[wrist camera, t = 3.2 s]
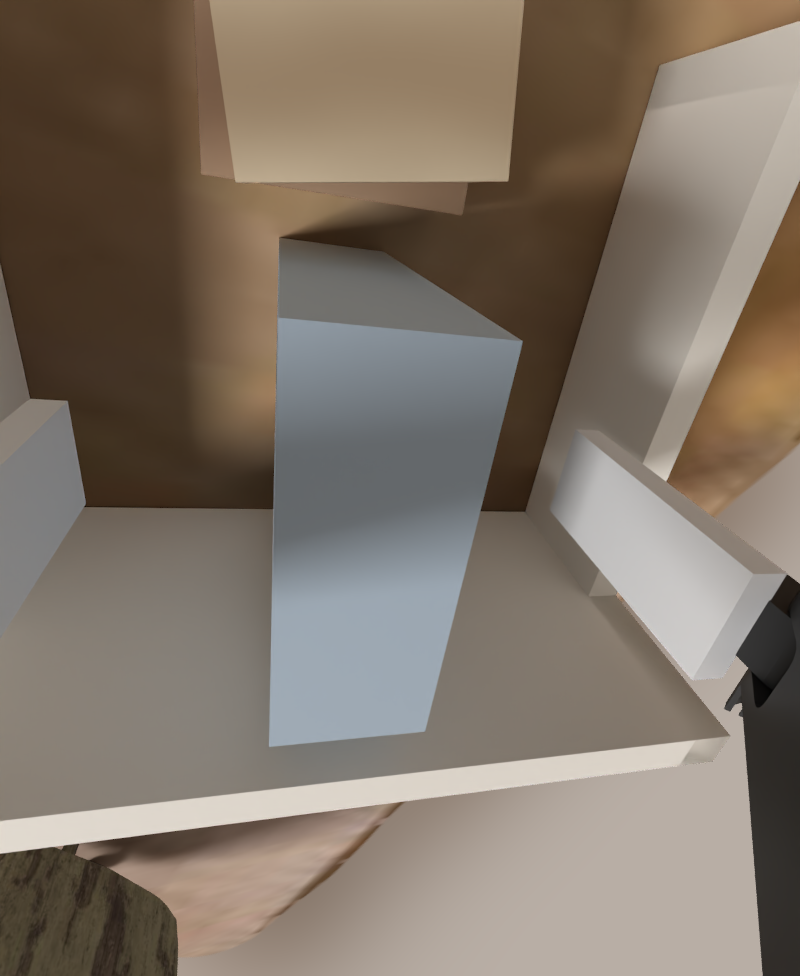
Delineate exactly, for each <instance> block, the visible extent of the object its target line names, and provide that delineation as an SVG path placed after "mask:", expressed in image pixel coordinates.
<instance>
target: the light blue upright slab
mask: <svg viewBox="0 0 800 976" xmlns="http://www.w3.org/2000/svg"><path fill="white" fill-rule="evenodd" d="M522 343H523V341H522V340H520V339H519V338H517V337H516V336H514V335H512V334H511V333H509V332H508V331H506V330H505V329H503V328H502V327H500V326H498V325H497V324H495V323H494V322H492V321H491V320H489V319H488V318H486V317H484V316H483V315H481V314H480V313H478V312H477V311H475V310H474V309H472V308H470V307H469V306H467V305H466V304H464V303H463V302H461V301H460V300H458V299H456V298H455V297H453V296H452V295H450V294H449V293H447V292H446V291H444V290H442V289H441V288H439V287H438V286H436V285H435V284H433V283H432V282H430V281H428V280H427V279H425V278H424V277H422V276H421V275H419V274H418V273H416V272H414V271H413V270H411V269H410V268H408V267H407V266H405V265H404V264H402V263H400V262H399V261H397V260H396V259H394V258H393V257H391V256H390V255H388V254H386V253H385V252H383V251H375V250H368V249H360V248H353V247H345V246H338V245H330V244H323V243H315V242H308V241H300V240H293V239H285V238H279V267H278V314H277V362H276V409H275V456H274V507H273V561H272V614H271V668H270V721H269V747H273V746H284V745H294V744H304V743H314V742H324V741H335V740H345V739H355V738H365V737H375V736H386V735H396V734H406V733H416V732H425V730H426V726H427V722H428V718H429V714H430V710H431V706H432V702H433V698H434V694H435V690H436V686H437V682H438V678H439V674H440V670H441V666H442V662H443V658H444V654H445V650H446V646H447V642H448V638H449V634H450V630H451V626H452V622H453V618H454V614H455V610H456V606H457V602H458V598H459V594H460V590H461V586H462V582H463V578H464V574H465V570H466V566H467V562H468V558H469V554H470V550H471V546H472V543H473V539H474V535H475V531H476V527H477V523H478V519H479V515H480V511H481V507H482V503H483V499H484V495H485V491H486V487H487V483H488V479H489V475H490V471H491V467H492V463H493V459H494V455H495V451H496V447H497V443H498V439H499V435H500V431H501V427H502V423H503V419H504V415H505V411H506V407H507V403H508V399H509V395H510V391H511V387H512V383H513V379H514V375H515V371H516V367H517V363H518V359H519V355H520V351H521V347H522Z"/></svg>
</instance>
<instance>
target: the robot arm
mask: <svg viewBox="0 0 800 976" xmlns="http://www.w3.org/2000/svg"><path fill="white" fill-rule="evenodd" d="M85 504H86V500H85V495H84V489H83V484H82V478H81V472H80V467H79V461H78V456H77V450H76V445H75V439H74V434H73V428H72V423H71V417H70V412H69V406H68V401H61V400H43V399H29V400H28V401H26V402H25V403H24V404H23V405H21V406H20V407H19V408H18V409H16V410H15V411H14V412H13V413H12V414H10V415H9V416H8V417H7V418H5V419H4V420H3V421H2V422H0V638H1V637H2V635H3V634H4V632H5V630H6V629H7V627H8V626H9V624H10V623H11V621H12V619H13V618H14V616H15V615H16V613H17V612H18V610H19V608H20V607H21V605H22V604H23V602H24V601H25V599H26V597H27V596H28V594H29V593H30V591H31V590H32V588H33V586H34V585H35V583H36V582H37V580H38V578H39V577H40V575H41V574H42V572H43V571H44V569H45V567H46V566H47V564H48V563H49V561H50V560H51V558H52V556H53V555H54V553H55V552H56V550H57V549H58V547H59V545H60V544H61V542H62V541H63V539H64V537H65V536H66V534H67V533H68V531H69V530H70V528H71V526H72V525H73V523H74V522H75V520H76V519H77V517H78V515H79V514H80V512H81V511H82V509H83V508H84V506H85ZM550 511H551V512H552V514H553V515H554V516H555V517H556V518H557V520H558V521H559V522H560V523H561V524H562V526H563V527H564V528H565V529H566V530H567V531H568V533H569V534H570V535H571V536H572V537H573V539H574V540H575V541H576V542H577V543H578V545H579V546H580V547H581V548H582V549H583V551H584V552H585V553H586V554H587V555H588V557H589V558H590V559H591V560H592V561H593V563H594V564H595V565H596V566H597V567H598V569H599V570H600V571H601V572H602V573H603V575H604V576H605V577H606V578H607V579H608V581H609V582H610V583H611V584H612V585H613V586H614V588H615V589H616V590H617V591H618V592H619V594H620V595H621V596H622V597H623V598H624V600H625V601H626V602H627V603H628V604H629V606H630V607H631V608H632V609H633V610H634V612H635V613H636V614H637V615H638V616H639V618H640V619H641V620H642V621H643V622H644V624H645V625H646V626H647V627H648V628H649V630H650V631H651V632H652V633H653V634H654V635H655V637H656V638H657V639H658V640H659V641H660V643H661V644H662V645H663V646H664V647H665V649H666V650H667V651H668V652H669V653H670V655H671V656H672V657H673V658H674V659H675V661H676V662H677V663H678V664H679V665H680V666H681V668H682V669H683V670H684V671H685V673H686V674H687V675H688V676H689V677H690V678H691V680H702V679H715V678H723V676H724V675H725V673H726V672H727V670H728V668H729V667H730V665H731V664H732V662H733V660H734V659H735V657H736V656H737V657H738V658H739V659H740V660H741V661H742V662H743V663H744V664H745V665H746V666H747V667H748V670H747V671H746V673H745V674H744V676H743V677H742V679H741V681H740V682H739V683H738V685H737V687H736V688H735V690H734V691H733V693H732V694H731V696H730V697H729V699H728V701H727V702H726V705H725V709H726V710H728V711H731V709H732V708H733V706H734V705H735V704H738V703H742V710H741V712H740V713H739V716H741V717H743V721H744V735H745V748H746V761H747V775H748V787H749V801H750V812H751V813H750V814H751V827H752V840H753V853H754V866H755V880H756V893H757V906H758V918H759V931H760V945H761V958H762V971H763V976H800V584H799V583H798V582H797V581H795V580H794V579H793V578H791V577H790V576H789V575H787V573H786V572H785V571H783V570H782V569H781V568H779V567H778V566H777V565H775V564H774V563H773V562H772V561H770V560H769V559H768V558H766V557H765V556H763V555H762V554H761V553H760V552H758V551H757V550H756V549H754V548H753V547H752V546H750V545H749V544H748V543H746V542H745V541H744V540H742V539H741V538H740V537H738V536H737V535H736V534H735V533H733V532H732V531H731V530H729V529H728V528H727V527H725V526H724V525H723V524H721V523H720V522H719V521H717V520H716V519H715V518H713V517H712V516H711V515H709V514H708V513H707V512H706V511H704V510H703V509H702V508H700V507H699V506H698V505H696V504H695V503H694V502H692V501H691V500H690V499H688V498H687V497H686V496H684V495H683V494H682V493H680V492H679V491H678V490H676V489H675V488H674V487H672V486H671V485H670V484H669V483H667V482H666V481H665V480H663V479H662V478H661V477H659V476H658V475H657V474H655V473H654V472H653V471H651V470H650V469H649V468H647V467H646V466H645V465H643V464H642V463H641V462H639V461H638V460H637V459H635V458H634V457H633V456H632V455H630V454H629V453H628V452H626V451H625V450H624V449H622V448H621V447H620V446H618V445H617V444H616V443H614V442H613V441H612V440H610V439H609V438H608V437H606V436H605V435H604V434H602V433H601V432H600V431H595V430H577V429H575V433H574V436H573V439H572V442H571V445H570V448H569V451H568V454H567V458H566V461H565V464H564V467H563V470H562V473H561V476H560V479H559V483H558V486H557V489H556V492H555V495H554V498H553V501H552V504H551V507H550Z"/></svg>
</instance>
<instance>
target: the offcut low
mask: <svg viewBox="0 0 800 976" xmlns="http://www.w3.org/2000/svg"><path fill="white" fill-rule="evenodd" d="M194 19H195V43H196V66H197V90H198V113H199V137H200V160H201V174H202V175H209V176H215V177H222V178H228V179H234V180H235V175H234V169H233V162H232V155H231V148H230V141H229V134H228V127H227V120H226V113H225V106H224V99H223V92H222V85H221V78H220V71H219V64H218V57H217V50H216V43H215V36H214V29H213V22H212V15H211V9H210V2H209V0H194ZM260 184H266V185H272V186H279V187H285V188H292V189H298V190H304V191H311V192H317V193H323V194H330V195H336V196H342V197H349V198H355V199H361V200H368V201H374V202H381V203H387V204H393V205H400V206H406V207H412V208H419V209H425V210H431V211H438V212H444V213H451V214H457V215H463V210H464V204H465V198H466V193H467V187H468V182H400V183H260Z"/></svg>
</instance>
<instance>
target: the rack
mask: <svg viewBox="0 0 800 976" xmlns="http://www.w3.org/2000/svg"><path fill="white" fill-rule="evenodd" d="M799 181H800V21H798V22H795V23H792V24H789V25H785V26H782V27H779V28H776V29H773V30H770V31H766V32H763V33H760V34H757V35H754V36H751V37H747V38H744V39H741V40H738V41H735V42H731V43H728V44H725V45H722V46H719V47H716V48H712V49H709V50H706V51H703V52H700V53H697V54H693V55H690V56H687V57H684V58H681V59H678V60H674V61H671V62H668V63H665V64H662V65H659V69H658V72H657V75H656V79H655V82H654V85H653V89H652V92H651V95H650V99H649V102H648V105H647V109H646V112H645V115H644V119H643V122H642V125H641V129H640V132H639V135H638V139H637V142H636V145H635V149H634V152H633V155H632V158H631V162H630V165H629V168H628V172H627V175H626V178H625V182H624V185H623V188H622V192H621V195H620V198H619V202H618V205H617V208H616V212H615V215H614V218H613V222H612V225H611V228H610V232H609V235H608V238H607V242H606V245H605V248H604V252H603V255H602V258H601V261H600V265H599V268H598V271H597V275H596V278H595V281H594V285H593V288H592V291H591V295H590V298H589V301H588V305H587V308H586V311H585V315H584V318H583V321H582V325H581V328H580V331H579V335H578V338H577V341H576V345H575V348H574V351H573V354H572V358H571V361H570V364H569V368H568V371H567V374H566V378H565V381H564V384H563V388H562V391H561V394H560V398H559V401H558V404H557V408H556V411H555V414H554V418H553V421H552V424H551V428H550V431H549V434H548V438H547V441H546V444H545V448H544V451H543V454H542V457H541V461H540V464H539V467H538V471H537V474H536V477H535V481H534V484H533V487H532V491H531V494H530V497H529V501H528V504H527V507H526V511H525V512H495V511H480V515H479V519H478V523H477V527H476V531H475V535H474V539H473V543H472V546H471V550H470V554H469V558H468V562H467V566H466V570H465V574H464V578H463V582H462V586H461V590H460V594H459V598H458V602H457V606H456V610H455V614H454V618H453V622H452V626H451V630H450V634H449V638H448V642H447V646H446V650H445V654H444V658H443V662H442V666H441V670H440V674H439V678H438V682H437V686H436V690H435V694H434V698H433V702H432V706H431V710H430V714H429V718H428V722H427V726H426V730H425V732H416V733H406V734H396V735H386V736H375V737H365V738H355V739H345V740H335V741H324V742H314V743H304V744H294V745H284V746H273V747H269V721H270V668H271V614H272V561H273V509H207V508H111V507H84V508H83V509H82V511H81V512H80V514H79V515H78V517H77V519H76V520H75V522H74V523H73V525H72V526H71V528H70V530H69V531H68V533H67V534H66V536H65V537H64V539H63V541H62V542H61V544H60V545H59V547H58V549H57V550H56V552H55V553H54V555H53V556H52V558H51V560H50V561H49V563H48V564H47V566H46V567H45V569H44V571H43V572H42V574H41V575H40V577H39V578H38V580H37V582H36V583H35V585H34V586H33V588H32V590H31V591H30V593H29V594H28V596H27V597H26V599H25V601H24V602H23V604H22V605H21V607H20V608H19V610H18V612H17V613H16V615H15V616H14V618H13V619H12V621H11V623H10V624H9V626H8V627H7V629H6V630H5V632H4V634H3V635H2V637H1V638H0V854H1V853H9V852H17V851H25V850H32V849H40V848H48V847H56V846H63V845H71V844H79V843H86V842H94V841H102V840H110V839H117V838H125V837H133V836H140V835H148V834H156V833H164V832H171V831H179V830H187V829H195V828H202V827H210V826H218V825H225V824H233V823H241V822H249V821H256V820H264V819H272V818H280V817H287V816H295V815H303V814H310V813H318V812H326V811H334V810H341V809H349V808H357V807H364V806H372V805H380V804H388V803H395V802H403V801H411V800H418V799H426V798H433V797H441V796H449V795H457V794H464V793H473V792H480V791H488V790H495V789H503V788H511V787H519V786H526V785H534V784H542V783H549V782H557V781H565V780H573V779H580V778H589V777H596V776H604V775H611V774H619V773H626V772H635V771H643V770H650V769H658V768H666V767H673V766H681V765H688V764H696V763H704V762H712V761H713V760H714V759H715V757H716V756H717V755H718V753H719V752H720V750H721V749H722V748H723V746H724V745H725V743H726V742H727V740H728V739H729V738H730V735H729V734H728V732H727V731H726V730H725V729H724V727H723V726H722V725H721V724H720V722H718V720H717V719H716V718H715V716H714V715H713V714H712V713H711V712H710V710H709V709H708V708H707V707H706V705H705V704H704V703H703V702H702V701H701V699H700V698H699V697H698V696H697V694H696V693H695V692H694V691H693V689H692V688H691V687H690V686H689V685H688V683H687V682H686V681H685V680H684V678H683V677H682V676H681V675H680V673H679V672H678V671H677V670H676V669H675V667H674V666H673V665H672V664H671V662H670V661H669V660H668V659H667V658H666V656H665V655H664V654H663V653H662V652H661V650H660V649H659V648H658V647H657V645H656V644H655V643H654V642H653V640H652V639H651V638H650V637H649V636H648V634H647V633H646V632H645V631H644V630H643V628H642V627H641V626H640V625H639V623H638V622H637V621H636V620H635V618H634V617H633V616H632V615H631V613H630V612H629V611H628V610H627V609H626V607H625V606H624V605H623V604H622V602H621V601H620V600H619V599H618V598H617V596H616V594H617V592H618V591H617V590H616V589H615V588H614V586H613V585H612V584H611V583H610V582H609V581H608V579H607V578H606V577H605V576H604V575H603V573H602V572H601V571H600V570H599V569H598V567H597V566H596V565H595V564H594V563H593V561H592V560H591V559H590V558H589V557H588V555H587V554H586V553H585V552H584V551H583V549H582V548H581V547H580V546H579V545H578V543H577V542H576V541H575V540H574V539H573V537H572V536H571V535H570V534H569V533H568V531H567V530H566V529H565V528H564V527H563V526H562V524H561V523H560V522H559V521H558V520H557V518H556V517H555V516H554V515H553V514H552V512H551V511H550V507H551V504H552V501H553V498H554V495H555V492H556V489H557V486H558V483H559V479H560V476H561V473H562V470H563V467H564V464H565V461H566V458H567V454H568V451H569V448H570V445H571V442H572V439H573V436H574V433H575V429H577V430H595V431H600V432H601V433H602V434H604V435H605V436H606V437H608V438H609V439H610V440H612V441H613V442H614V443H616V444H617V445H618V446H620V447H621V448H622V449H624V450H625V451H626V452H628V453H629V454H630V455H632V456H633V457H634V458H635V459H637V460H638V461H639V462H641V463H642V464H643V465H645V466H646V467H647V468H649V469H650V470H651V471H653V472H654V473H655V474H657V475H658V476H659V477H661V478H662V479H663V480H665V481H667V479H668V477H669V474H670V472H671V470H672V468H673V465H674V463H675V461H676V459H677V456H678V454H679V452H680V449H681V447H682V445H683V443H684V440H685V438H686V436H687V434H688V431H689V429H690V427H691V425H692V422H693V420H694V418H695V416H696V413H697V411H698V409H699V407H700V404H701V402H702V400H703V398H704V395H705V393H706V391H707V389H708V386H709V384H710V382H711V380H712V377H713V375H714V373H715V370H716V368H717V366H718V364H719V361H720V359H721V357H722V355H723V352H724V350H725V348H726V346H727V343H728V341H729V339H730V337H731V334H732V332H733V330H734V328H735V325H736V323H737V321H738V319H739V316H740V314H741V312H742V310H743V307H744V305H745V303H746V301H747V298H748V296H749V294H750V291H751V289H752V287H753V285H754V282H755V280H756V278H757V276H758V273H759V271H760V269H761V267H762V264H763V262H764V260H765V258H766V255H767V253H768V251H769V249H770V246H771V244H772V242H773V240H774V237H775V235H776V233H777V231H778V228H779V226H780V224H781V222H782V219H783V217H784V215H785V212H786V210H787V208H788V206H789V203H790V201H791V199H792V197H793V194H794V192H795V190H796V188H797V185H798V183H799ZM29 399H30V396H29V391H28V387H27V382H26V378H25V373H24V369H23V364H22V360H21V355H20V351H19V346H18V342H17V337H16V333H15V328H14V324H13V319H12V314H11V310H10V305H9V301H8V296H7V292H6V287H5V283H4V278H3V274H2V269H1V265H0V422H2V421H3V420H4V419H5V418H7V417H8V416H9V415H10V414H12V413H13V412H14V411H15V410H16V409H18V408H19V407H20V406H21V405H23V404H24V403H25V402H26V401H28V400H29Z"/></svg>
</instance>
